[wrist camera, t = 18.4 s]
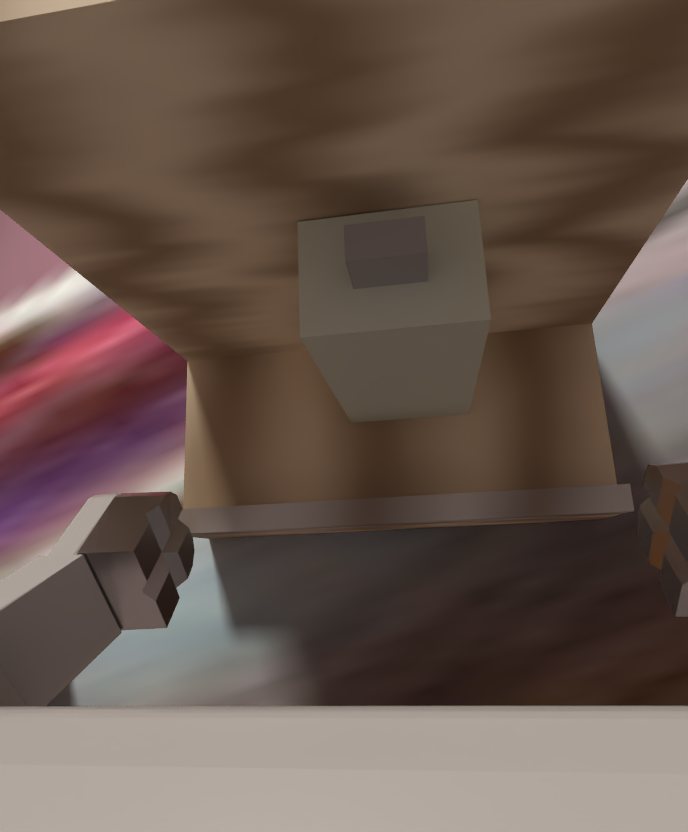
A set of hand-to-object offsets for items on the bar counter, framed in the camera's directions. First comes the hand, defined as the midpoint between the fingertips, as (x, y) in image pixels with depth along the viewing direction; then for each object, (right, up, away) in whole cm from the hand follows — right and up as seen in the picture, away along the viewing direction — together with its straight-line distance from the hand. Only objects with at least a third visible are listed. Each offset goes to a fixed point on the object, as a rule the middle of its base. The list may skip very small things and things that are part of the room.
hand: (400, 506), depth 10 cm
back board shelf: (+1, +1, +18) cm, 18 cm away
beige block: (+2, +3, +15) cm, 15 cm away
